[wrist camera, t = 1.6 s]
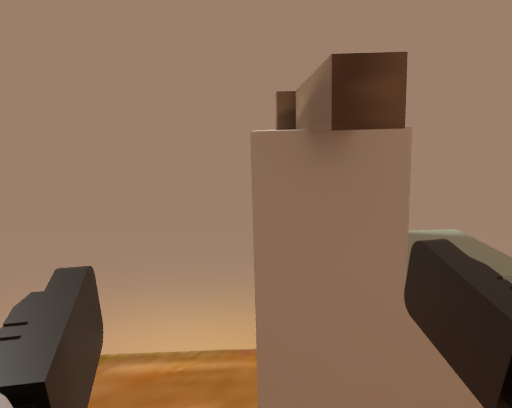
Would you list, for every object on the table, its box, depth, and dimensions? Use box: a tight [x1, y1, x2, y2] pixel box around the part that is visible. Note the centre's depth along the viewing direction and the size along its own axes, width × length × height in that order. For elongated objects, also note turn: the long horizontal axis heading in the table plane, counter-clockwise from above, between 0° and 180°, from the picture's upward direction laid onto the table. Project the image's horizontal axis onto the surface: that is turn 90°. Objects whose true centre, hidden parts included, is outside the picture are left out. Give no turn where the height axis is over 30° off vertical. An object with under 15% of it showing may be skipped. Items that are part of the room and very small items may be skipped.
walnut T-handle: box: [275, 52, 407, 131], centre depth 27 cm, size 6×20×3 cm, turn 0°
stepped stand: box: [251, 127, 512, 408], centre depth 36 cm, size 20×14×32 cm
